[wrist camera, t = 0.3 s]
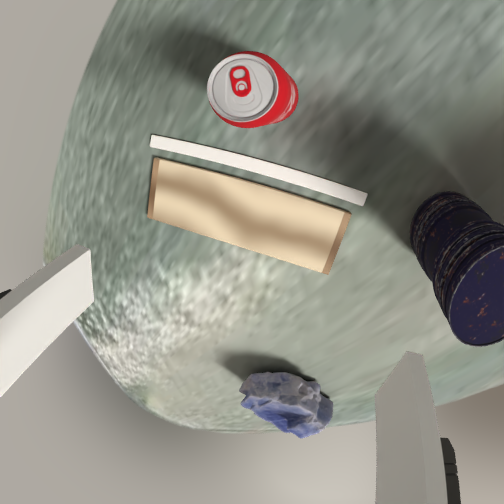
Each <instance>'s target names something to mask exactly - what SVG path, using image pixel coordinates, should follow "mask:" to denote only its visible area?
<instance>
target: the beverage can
mask: <svg viewBox="0 0 504 504" xmlns="http://www.w3.org/2000/svg"><path fill="white" fill-rule="evenodd" d="M207 95H208V98H209V102H210V104H211V106H212V108H213V110H214V112H215V113H216V114H217V115H218V116H219V117H220V118H221V119H222V120H224V121H225V122H227V123H228V124H231V125H233V126H236V127H241V128H254V127H259V126H264V125H268V124H273V123H278V122H281V121H283V120H285V119H286V118H288V117H289V116H290V115H291V114H292V113H293V111H294V110H295V108H296V106H297V103H298V89H297V86H296V84H295V82H294V80H293V79H292V78H291V77H290V76H289V75H288V73H287V72H286V71H285V70H284V69H283V68H282V67H281V66H280V65H279V64H278V63H277V62H276V61H275V60H274V59H272V58H271V57H269V56H267V55H265V54H262V53H259V52H253V51H244V52H238V53H235V54H232V55H230V56H228V57H226V58H225V59H223V60H222V61H221V62H220V63H219V64H217V66H216V67H215V68H214V69H213V71H212V72H211V74H210V76H209V79H208V83H207Z"/></svg>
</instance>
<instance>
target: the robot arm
mask: <svg viewBox="0 0 504 504" xmlns="http://www.w3.org/2000/svg"><path fill="white" fill-rule="evenodd" d="M93 302H94V294H93V284H92V271H91V255H90V249H88V248H86V247H84V246H81V245H79V244H76V245H75V246H73V247H72V248H70V249H69V250H67V251H66V252H64V253H63V254H62V255H60V256H59V257H57V258H56V259H54V260H53V261H51V262H50V263H49V264H47V265H46V266H44V267H43V268H42V269H40V270H39V271H37V272H36V273H35V274H33V275H32V276H31V277H29V278H28V279H26V280H25V281H24V282H22V283H21V284H20V285H18V286H17V287H16V288H15V289H13V290H11V289H9V290H7V291H4V292H2V293H0V397H1V396H2V395H3V394H4V393H5V392H6V391H7V390H8V389H9V387H10V386H11V385H12V384H13V383H14V382H15V381H16V380H17V379H18V377H19V376H20V375H21V374H22V373H23V372H24V371H25V370H26V369H27V368H28V367H29V366H30V364H32V362H33V361H34V360H35V359H36V358H37V357H38V356H39V355H40V354H41V353H42V352H43V351H44V350H45V349H46V348H47V347H48V346H49V345H50V344H51V343H52V342H53V341H54V340H55V339H56V338H57V337H58V336H59V335H60V334H61V333H62V332H63V331H64V330H65V329H66V328H67V327H68V326H69V325H70V324H71V323H72V322H73V321H74V320H75V319H76V318H77V317H78V316H79V315H80V314H81V313H82V312H83V311H84V310H85V309H86V308H87V307H88V306H89V305H91V304H92V303H93ZM375 410H376V436H377V437H376V440H377V441H376V442H377V472H376V502H375V503H376V504H461V501H460V490H459V480H458V476H457V466H456V465H455V464H456V459H455V452H454V449H453V447H452V445H451V443H450V441H449V439H448V438H440V433H439V428H438V422H437V417H436V411H435V406H434V401H433V396H432V392H431V387H430V383H429V379H428V374H427V370H426V366H425V362H424V358H423V355H421V354H417V353H413V352H409V351H406V353H405V354H404V356H403V357H402V359H401V360H400V361H399V363H398V364H397V366H396V367H395V368H394V370H393V371H392V373H391V374H390V375H389V377H388V378H387V379H386V381H385V382H384V383H383V385H382V386H381V387H380V389H379V390H378V391H377V392H376V394H375Z"/></svg>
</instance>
